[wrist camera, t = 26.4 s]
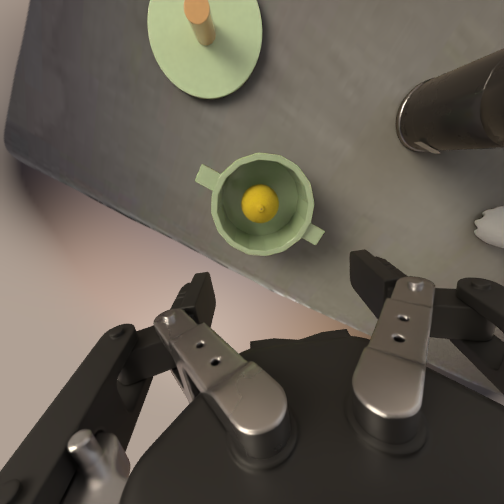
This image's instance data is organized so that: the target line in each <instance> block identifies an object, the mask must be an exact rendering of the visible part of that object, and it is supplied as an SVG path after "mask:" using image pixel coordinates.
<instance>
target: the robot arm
mask: <svg viewBox="0 0 504 504" xmlns="http://www.w3.org/2000/svg"><path fill="white" fill-rule="evenodd" d="M396 132H397V135H398V138H399V140H400V141H401V143H402V144H403V145H404V146H405V147H407V148H408V149H410V150H413V151H417V152H426V151H430V152H432V153H440V152H438V151H437V150H462V149H486V148H504V48H503V49H501V50H499V51H496V52H494V53H492V54H490V55H487V56H485V57H483V58H480V59H478V60H476V61H473V62H471V63H469V64H466V65H464V66H462V67H459V68H457V69H455V70H452V71H450V72H448V73H445V74H443V75H441V76H438V77H436V78H432V79H429V80H427V81H425V82H422V83H421V84H419V85H417V86H416V87H415V88H413V89H412V90H411V91H410V92H409V93H408V94H407V95H406V97H405V98H404V100H403V101H402V103H401V105H400V107H399V110H398V113H397V117H396ZM350 281H351V285H352V287H353V289H354V290H355V291H356V292H357V294H358V295H359V296H360V297H361V299H362V300H363V301H364V302H365V304H366V305H367V306H368V307H369V309H370V310H371V311H372V313H373V314H374V315H375V316H376V318H377V319H378V321H377V324H376V326H375V329H374V331H373V334H372V337H371V339H370V340H369V339H366V338H361V337H355V336H350V334H349V333H348V331H347V329H343V330H335V331H328V332H321V333H318V334H316V335H313V336H309V337H306V338H304V339H300V340H292V339H275V338H273V339H265V340H258V341H251V342H250V349H248V350H246V351H243V352H241V353H239V354H238V353H237V352H236V351H235V350H234V349H233V348H232V347H231V346H230V345H229V344H228V343H226V342H225V341H224V340H223V339H222V338H221V337H220V336H219V335H218V334H216V332H215V331H213V330H212V329H211V323H212V319H213V315H214V311H215V306H216V300H215V294H214V290H213V286H212V282H211V277H210V274H209V273H208V272H204V273H197V274H195V275H194V277H193V279H192V281H191V283H187V284H186V285H184V286H183V287H182V288H181V290H180V291H179V294H178V295H177V297H176V299H175V301H174V303H173V305H172V307H171V309H170V310H167V311H165V312H163V313H161V314H160V315H158V316H157V317H156V318H155V320H154V325H153V326H151V327H148V328H145V329H142V330H139V331H136V330H135V327H134V325H132V324H122V325H119V326H116V327H114V328H112V329H110V330H109V331H107V332H106V333H105V334H104V335H103V336H102V337H101V338H100V339H99V341H98V342H97V344H96V345H95V346H94V347H93V349H92V350H91V352H90V353H89V354H88V355H87V357H86V358H85V360H84V361H83V362H82V363H81V365H80V366H79V367H78V369H77V370H76V371H75V373H74V374H73V375H72V377H71V378H70V380H69V381H68V382H67V383H66V385H65V386H64V387H63V389H62V390H61V391H60V393H59V394H58V396H57V397H56V398H55V399H54V401H53V402H52V403H51V405H50V406H49V407H48V409H47V410H46V411H45V413H44V414H43V415H42V417H41V418H40V419H39V421H38V422H37V423H36V425H35V426H34V427H33V429H32V430H31V431H30V433H29V434H28V435H27V437H26V438H25V439H24V441H23V442H22V443H21V445H20V446H19V448H18V449H17V450H16V451H15V453H14V454H13V456H12V457H11V458H10V459H9V461H8V462H7V463H6V465H5V466H4V467H3V469H2V470H1V471H0V504H504V406H503V405H501V404H499V403H497V402H495V401H493V400H491V399H489V398H487V397H485V396H483V395H481V394H479V393H477V392H475V391H473V390H471V389H469V388H467V387H465V386H464V385H461V384H459V383H458V382H456V381H454V380H451V379H449V378H447V377H445V376H443V375H441V374H440V373H437V372H436V371H434V370H432V369H430V368H428V367H426V362H427V354H428V345H429V337H435V338H445V339H450V341H451V342H452V343H453V344H454V345H455V346H456V347H457V348H458V349H459V350H460V351H461V352H462V353H463V354H464V355H465V356H466V357H467V358H468V359H469V360H470V361H471V362H472V363H473V364H474V365H475V366H476V367H477V368H478V369H479V370H480V371H481V372H482V373H483V374H484V375H485V376H486V377H487V378H488V379H489V380H490V381H491V382H492V383H493V384H494V385H495V386H496V387H497V388H498V389H499V390H500V391H501V392H502V393H503V394H504V342H503V341H501V340H500V339H499V338H498V337H496V336H495V335H494V331H495V327H496V326H497V327H498V328H499V329H500V330H501V331H502V332H503V333H504V287H503V286H502V285H500V284H498V283H496V282H493V281H490V280H486V279H481V278H463V279H460V280H459V281H458V282H457V288H456V289H441V288H435V285H434V283H433V282H431V281H429V280H427V279H424V278H420V277H412V276H409V277H408V276H406V275H405V274H404V273H402V272H401V271H400V270H399V269H397V268H396V267H395V266H393V265H391V263H389V262H388V261H387V260H385V259H382V258H379V257H377V256H376V257H374V256H373V255H372V254H370V253H369V252H368V251H367V250H358V251H351V252H350ZM168 370H171V373H172V374H173V376H174V377H175V379H176V381H177V383H178V384H179V386H180V388H181V389H182V391H183V392H184V394H185V396H186V397H187V399H188V401H189V405H188V406H187V407H186V408H185V409H184V410H183V411H182V413H181V414H180V415H179V416H178V417H177V418H176V419H175V420H174V421H173V422H172V423H171V425H170V426H169V427H168V428H167V429H166V430H165V431H164V432H163V433H162V434H161V435H160V437H159V438H158V439H157V440H156V441H155V442H154V443H153V444H152V445H151V446H150V447H149V449H148V450H147V451H146V452H145V453H144V454H143V456H142V457H141V458H140V459H139V461H138V462H137V464H136V465H135V467H134V468H133V470H132V472H131V474H130V475H129V473H130V462H129V459H128V457H127V455H126V453H125V451H126V449H127V446H128V443H129V441H130V438H131V435H132V433H133V430H134V427H135V425H136V422H137V419H138V417H139V414H140V411H141V409H142V406H143V403H144V401H145V398H146V395H147V393H148V390H149V387H150V384H151V381H152V379H153V376H155V375H157V374H160V373H163V372H165V371H168ZM117 379H118V380H117Z"/></svg>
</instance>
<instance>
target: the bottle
mask: <svg viewBox="0 0 504 504" xmlns="http://www.w3.org/2000/svg"><path fill="white" fill-rule="evenodd" d="M482 215H483V218H481V219H479V220H476V221H475V225H476V226H477V229H476V230H475V231H474V233H475V235H476V236H477V237H478V238H480V239H481V240H483V241H484V242H486V243H488V244H491V245H494V246H497V247H501V248H504V206H501V207H496V208H494V209H489V210H486V211H484V212H483V213H482Z"/></svg>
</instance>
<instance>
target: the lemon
mask: <svg viewBox="0 0 504 504" xmlns="http://www.w3.org/2000/svg"><path fill="white" fill-rule="evenodd" d="M241 208H242V211H243V213H244V215H245V216H246V217H247V218H248V219H249V220H250V221H252V222H255V223H265V222H268V221H270V220H271V219H272V218H273V217H274V216H275V215H276V213H277V211H278V208H279V200H278V197H277V194H276V193H275V191H274V190H273V189H272V188H270V187H269V186H267V185H263V184H257V185H254V186H251V187H250V188H248V189H247V190H246V191H245V193H244V194H243V196H242V200H241Z"/></svg>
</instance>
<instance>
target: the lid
mask: <svg viewBox="0 0 504 504" xmlns="http://www.w3.org/2000/svg"><path fill="white" fill-rule="evenodd" d="M148 34H149V39H150V44H151V47H152V51H153V53H154V56H155V58H156V61H157V62H158V64H159V66H160V68H161V69H162V71H163V72H164V74H165V75H166V76H167V77H168V79H169V80H170V81H171V82H172V83H173V84H174V85H176V86H177V87H178V88H179V89H181V90H182V91H184V92H185V93H187V94H189V95H191V96H194V97H197V98H202V99H218V98H222V97H225V96H227V95H230V94H231V93H233V92H235V91H236V90H238V89H239V88H240V87H241V86H242V85H243V84H244V83H245V82H246V81H247V80H248V78H249V77H250V75H251V74H252V72H253V70H254V68H255V66H256V63H257V61H258V58H259V54H260V50H261V43H262V20H261V14H260V10H259V6H258V3H257V0H150V4H149V10H148Z"/></svg>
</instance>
